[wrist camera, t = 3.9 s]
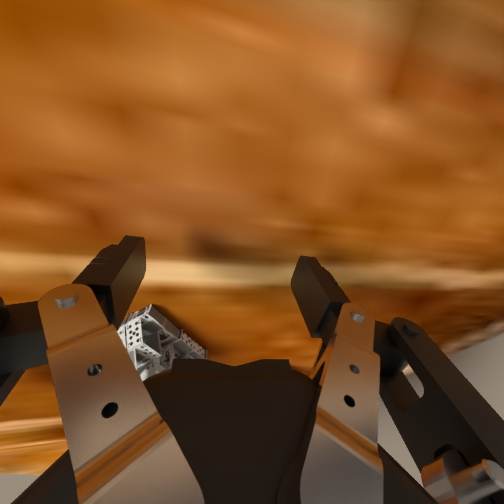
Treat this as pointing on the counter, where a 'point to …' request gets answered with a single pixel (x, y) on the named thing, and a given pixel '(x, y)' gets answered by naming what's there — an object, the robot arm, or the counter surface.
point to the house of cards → (155, 342)
